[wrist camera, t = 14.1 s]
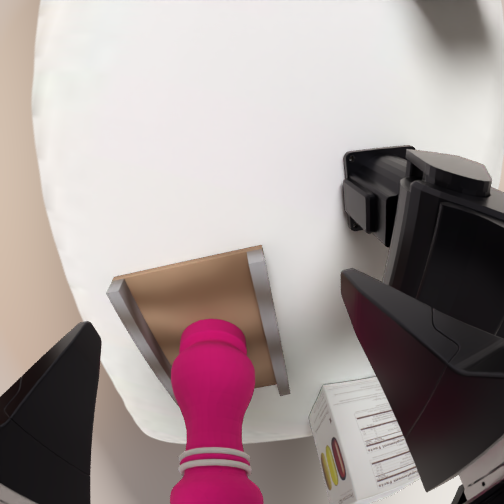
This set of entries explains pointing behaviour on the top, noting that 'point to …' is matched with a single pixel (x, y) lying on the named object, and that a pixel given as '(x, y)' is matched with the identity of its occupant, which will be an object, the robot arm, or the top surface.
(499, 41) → the top surface
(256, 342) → the track board
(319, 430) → the supplement box
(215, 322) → the pepper mill
